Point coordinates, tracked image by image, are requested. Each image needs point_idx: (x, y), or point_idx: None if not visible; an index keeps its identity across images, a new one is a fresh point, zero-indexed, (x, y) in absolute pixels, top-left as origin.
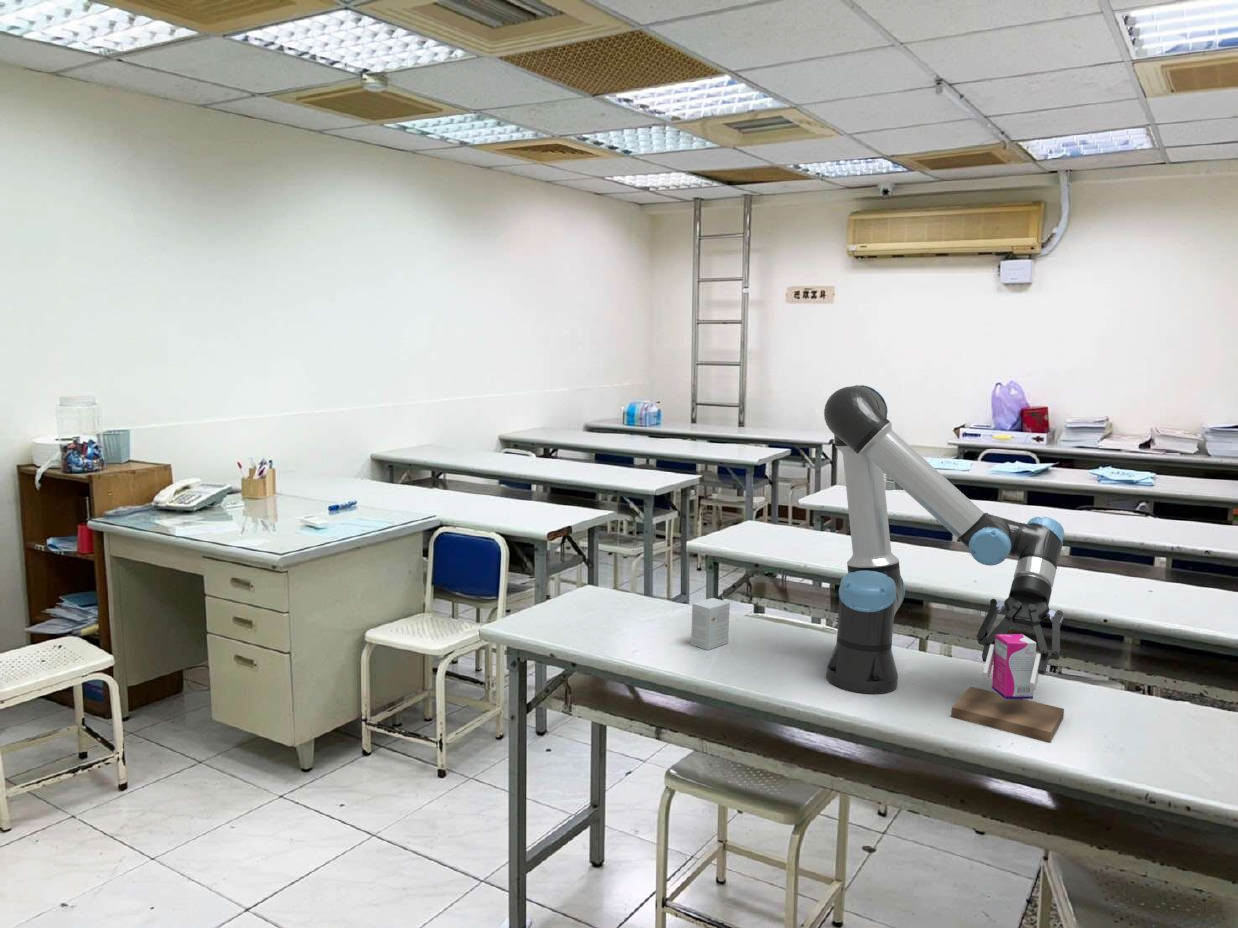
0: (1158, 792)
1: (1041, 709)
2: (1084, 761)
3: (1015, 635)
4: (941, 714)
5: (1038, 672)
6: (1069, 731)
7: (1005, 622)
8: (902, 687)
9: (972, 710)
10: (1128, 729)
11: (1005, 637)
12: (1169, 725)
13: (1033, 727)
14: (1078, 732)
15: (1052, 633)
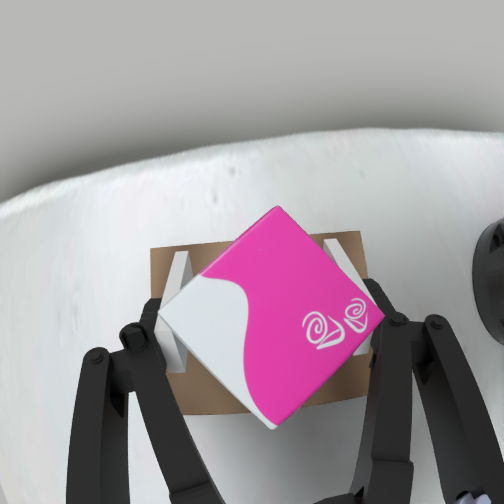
0: (26, 194)
1: (199, 374)
2: (100, 217)
3: (292, 371)
4: (370, 236)
5: None
6: None
7: (387, 436)
8: (471, 313)
9: (321, 245)
10: (68, 424)
11: (324, 289)
12: (40, 474)
13: (185, 247)
14: None
15: (100, 441)
